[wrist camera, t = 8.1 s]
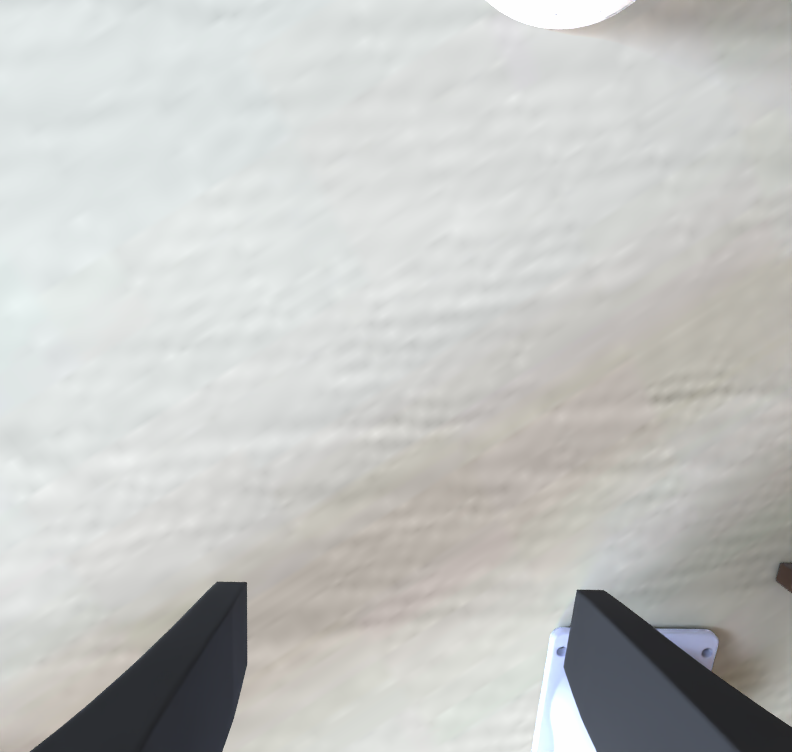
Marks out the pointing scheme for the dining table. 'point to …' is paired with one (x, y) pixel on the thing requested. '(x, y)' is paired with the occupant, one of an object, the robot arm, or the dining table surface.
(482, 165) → the dining table surface
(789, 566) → the walnut bay
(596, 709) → the robot arm
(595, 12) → the teacup with lid
